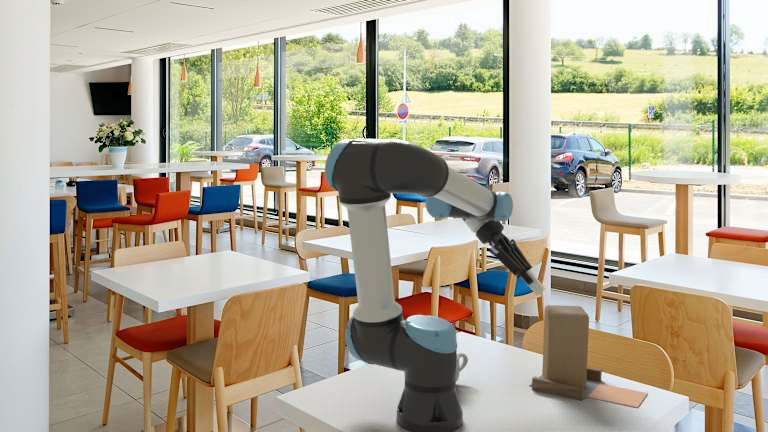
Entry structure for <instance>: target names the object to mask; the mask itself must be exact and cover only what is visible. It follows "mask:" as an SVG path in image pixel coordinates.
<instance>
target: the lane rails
mask: <svg viewBox="0 0 768 432" xmlns="http://www.w3.org/2000/svg"><path fill="white" fill-rule="evenodd" d="M602 372H603V369H600V368H596V367H590V366H587V379H588V380H593V381H598V382H601V381H602V374H603V373H602ZM539 377H540V376H533V377H532V378H531V379H532V382H531V383H532V386H531V390H532V391H537V392H542V393H546V394H550V395H555V396H559V397H564V398H569V399H573V400H578V401H583V400H585V398H584V387H582V386H577V385H572V384H567V383H562V382H558V381H553V380H548V379H543V378H539Z"/></svg>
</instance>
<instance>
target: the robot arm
mask: <svg viewBox="0 0 768 432" xmlns="http://www.w3.org/2000/svg"><path fill="white" fill-rule="evenodd" d="M324 176H325V181H326V183H327V185H328V186H329V187H330V188H331V189H332V190H334V191H335V192H338V193H337V194H338V199H339V204H340V205H342V206H343V207H345V208H346V211H347V218H348V226H349V227H348V228H349V234H350V235H349V236H350V243H351V253H352V261H353V268H354V269H353V270H354V277H355V278H354V279H355V286H356V295H357V303H358V305H357V306H356V307H355V309H354V310H353V312H352V315H351V316H350V318H349V320H348V321H347V325H346V326H347V328H346V329H345V333H344V334H345V336H344V337H345V344H346V347H347V349H348V351H349V353H350V354H351V356H352V357H353V358H355V359H356V360H358V361H361V362H364V363H366V364H368V365H375V366H380V367H385V368H388V369H392V370H396V371H400V372H403V373H404V388H403V389H402V390H403V391H402V393H401V395H400V399H399V401H398V404H397V408H396V422H397V424H398V425H400V426H401V427H402V428H404V429H405V430H407V431H409V432H453V431H455V430H457V429H459V428H460V427H461V426H462V425H463V423H464V421H463V420H464V417H463V416H464V415H463V409H462V405H461V403H460V398H459V395H458V392H457V388H456V386H457V382H456V354H457V349H458V341H457V339H458V338H457V331H456V328H455V326H454V325H453V324H452V323H451V322H449V321H448V320H446V319H443V318H441V317H438V316H435V315H424V314H414V315H410V316H408V317H407V318H406V319H404V317H403V316H404V315H403V307H402V305H401V304H399V303H398V302H397V301H395V300H396V299H395V293H394V292H395V291H394V280H393V271H392V263H391V262H392V260H391V252H390V242H389V232H388V222H387V221H388V220H387V212H386V211H387V210H386V204H387V203H388V201H389V200H390V199H391V198H392V194H401V195H402V194H404V195H405V194H406V195H417V196H420V197H423V198H426V200H425V208H426V211H427V213H428V214H429V216H430V217H432V218H433V219H436V220H437V219H442V220H444V219H446V218H452V219H461V220H462V221H463V222H464V223H465V225H466V226H467V227H468V228H469V229H470V231H471V232H472V233H475V237H477V239H478V240H479V241H480V243H482V244H483V245H486V244H489V246H490V247H491V248H490V249H489V250H488V251H489V253H491V255H493V256H494V257H495V258H496V259H497V260H498V261H500V263H502V265H504V266H505V267H506V269H507V270H509V272H511V273H512V275H514V276H515V277H516V279H519V278H521V279H522V280H523V281H524V283H526V285H527V286H528V287H529V288H530V289H531V291H532V292H533V293H534V295H535V296H539V295H540V294H541V293H542V292H544V291H545V290H546V287H545V285H544V284H543V283H542V282H541V281H540V280H539V279H538V277H536V274H534V273H533V272H532V268H533V266H532V265H531V264H530V262H529V260H528V259H527V258H526V256H525V255H524V254H523V252H522V251H521V250H520V248H519V247H518V245H517V243H516V241H515V240H514V239H513V238H511V239H509V237H507V236H506V235H505V234H504V233H503V231H504V230H505V229H504V228H505V227H504V225H503V223H502V222H506V221H508V220H509V219H510V218H511V216H512V214H513V209H514V208H513V207H514V203H513V202H514V201H513V198H512V195H511V194H510V193H508V192H504V191H501V190H499V191H493V190H490V189H489V188H487V187H485V186H483V185H482V184H480V183H478V182H476V181H475V180H472V179H471V178H469V177H468V176H466V175H464V174H462V173H460V172H458V171H457V170H455V169H454V168H452V167H449V164H448V163H447V162H446V160H445V158H442V156H440V155H438V154H436V153H435V152H432V151H430V150H428V149H426V148H425V147H422V146H420V145H417V144H416V143H413V142H409V141H406V140H402V139H396V138H388V139H386V138H382V139H381V138H360V137H358V138H350V139H348V138H347V139H343V140H340V141H338V142H337V143H336V144H334V145H333V146H332V147H331V149H330V151H329V153H328V154H327V158H326V161H325V165H324Z"/></svg>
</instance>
